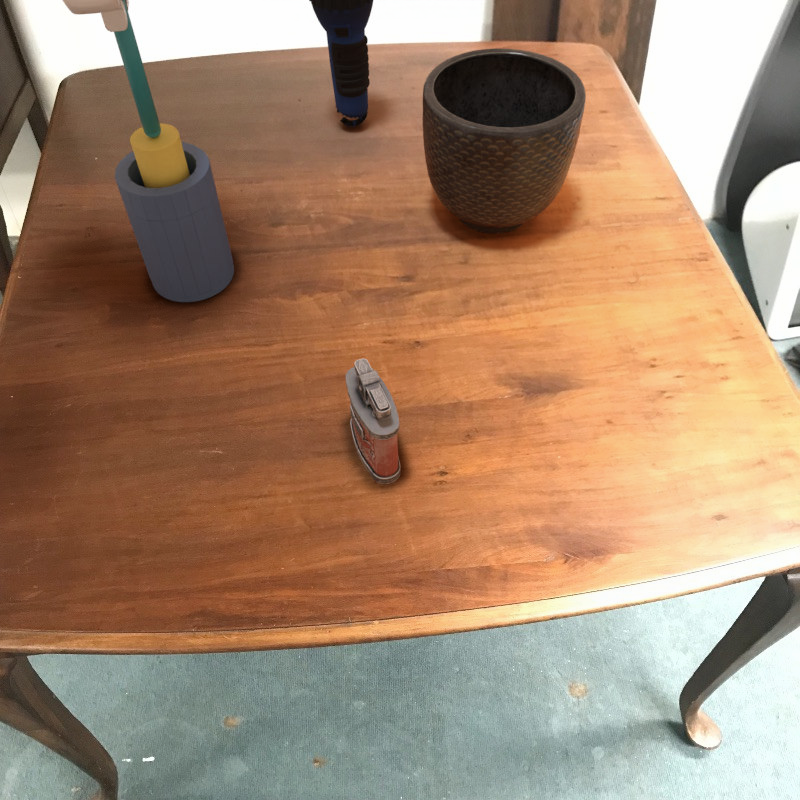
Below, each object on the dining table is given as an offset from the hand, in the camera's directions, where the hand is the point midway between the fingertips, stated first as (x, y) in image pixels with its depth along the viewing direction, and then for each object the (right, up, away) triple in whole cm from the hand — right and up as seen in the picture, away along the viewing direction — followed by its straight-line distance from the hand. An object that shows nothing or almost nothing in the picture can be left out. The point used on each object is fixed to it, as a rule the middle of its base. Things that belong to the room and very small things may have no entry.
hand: (118, 19), depth 65 cm
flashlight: (+17, +5, +41) cm, 45 cm away
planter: (+35, -9, +29) cm, 46 cm away
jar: (0, -18, +22) cm, 28 cm away
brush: (0, -10, +13) cm, 16 cm away
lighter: (+21, -37, +7) cm, 43 cm away
